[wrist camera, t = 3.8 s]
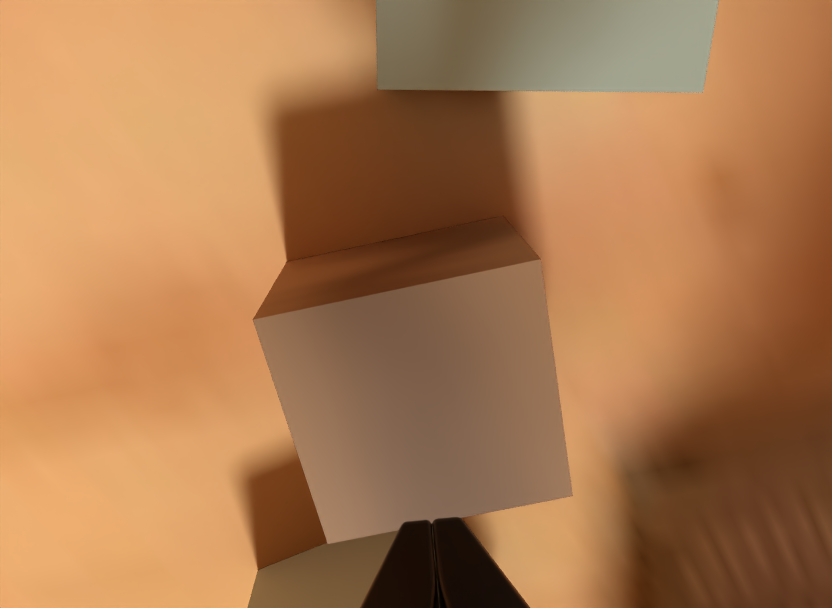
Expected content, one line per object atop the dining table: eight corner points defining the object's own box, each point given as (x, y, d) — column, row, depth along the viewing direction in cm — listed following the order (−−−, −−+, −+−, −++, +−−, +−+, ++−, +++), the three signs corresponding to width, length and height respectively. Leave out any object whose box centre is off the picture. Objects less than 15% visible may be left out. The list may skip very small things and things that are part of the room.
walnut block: (501, 214, 14) (540, 259, 11) (531, 402, 16) (573, 496, 13) (287, 260, 15) (252, 319, 11) (341, 440, 17) (328, 543, 13)
